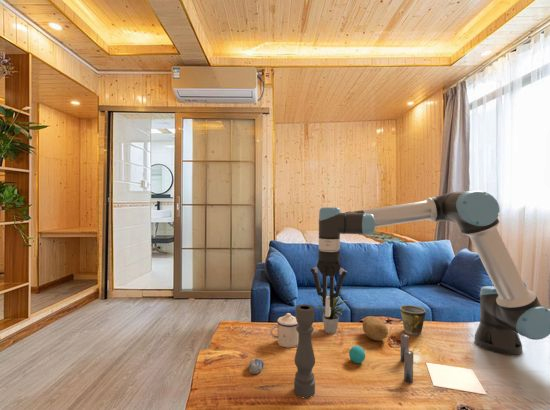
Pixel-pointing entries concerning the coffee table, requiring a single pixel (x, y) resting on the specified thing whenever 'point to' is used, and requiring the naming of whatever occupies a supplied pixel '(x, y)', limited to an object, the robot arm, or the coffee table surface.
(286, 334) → the teacup with lid
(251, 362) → the decorative stone
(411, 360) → the post
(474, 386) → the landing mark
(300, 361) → the candle holder
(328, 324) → the house plant
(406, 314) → the ceramic cup
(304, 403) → the coffee table surface
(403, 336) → the post
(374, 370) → the coffee table surface
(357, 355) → the ball
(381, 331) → the potato
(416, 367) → the coffee table surface
